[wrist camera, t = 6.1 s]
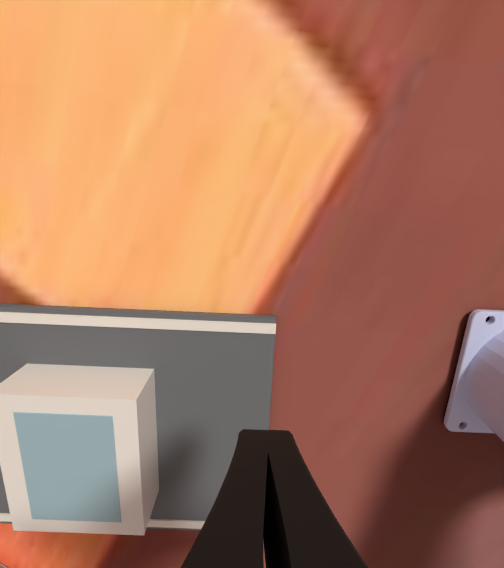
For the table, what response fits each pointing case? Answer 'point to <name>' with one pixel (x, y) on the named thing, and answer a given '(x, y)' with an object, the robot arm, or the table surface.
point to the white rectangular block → (79, 448)
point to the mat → (162, 385)
